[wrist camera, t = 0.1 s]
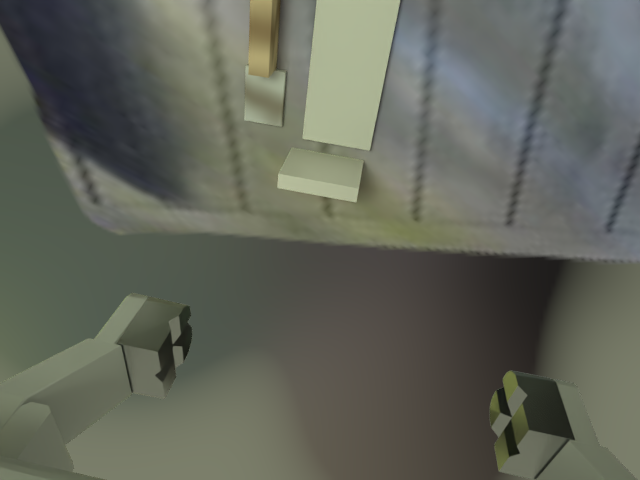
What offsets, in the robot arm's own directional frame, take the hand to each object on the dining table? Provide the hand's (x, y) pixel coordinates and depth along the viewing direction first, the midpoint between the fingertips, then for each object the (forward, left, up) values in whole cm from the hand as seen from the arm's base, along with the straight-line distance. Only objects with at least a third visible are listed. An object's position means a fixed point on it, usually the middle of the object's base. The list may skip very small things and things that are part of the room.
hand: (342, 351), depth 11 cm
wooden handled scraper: (+5, -14, -48) cm, 50 cm away
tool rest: (+5, -4, -48) cm, 48 cm away
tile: (+18, -5, -48) cm, 52 cm away
